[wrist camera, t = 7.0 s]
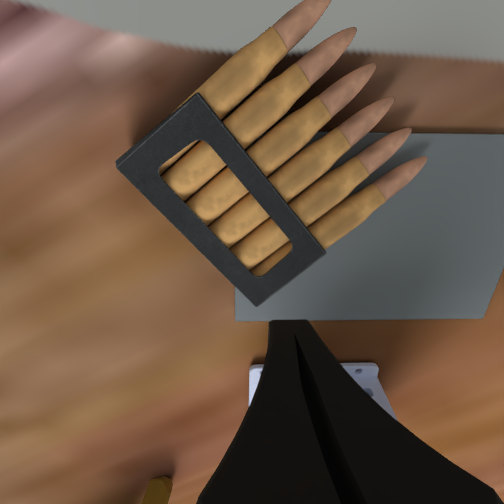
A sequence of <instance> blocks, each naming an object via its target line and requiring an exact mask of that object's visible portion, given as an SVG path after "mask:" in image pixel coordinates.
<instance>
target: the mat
mask: <svg viewBox="0 0 504 504" xmlns="http://www.w3.org/2000/svg"><path fill="white" fill-rule="evenodd" d="M268 132H269V131H265V132H264V133H263V134H262V135H261V136H260V137H258V138H257V139H256V140H255V141H254V142H253V143H251V144H250V145H249V146H248V147H247V148H246V149H249V148H250V147H251V146H252V145H253V144H255V143H256V142H257V141H258V140H259V139H260V138H262V137H263V136H264V135H265V134H266V133H268ZM327 133H329V132H317V133H316V134H315V135H314V136H313V137H312V139H311V140H310V141H309V142H308V143H307V144H306V145H305V146H304V147H302V148H301V149H300V150H299V151H298V152H296V153H295V154H294V155H293V156H292V157H294V156H295V155H296V154H297V153H299V152H300V151H301V150H302V149H304V148H305V147H306V146H308V145H309V144H311V143H313V142H315V141H316V140H318V139H320V138H322V137H323V136H325V135H326V134H327ZM389 134H391V133H373V132H368V133H367V134H366V135H365V136H364V137H363V138H362V139H360V140H359V141H358V142H357V143H355V144H354V145H353V146H352V147H351V148H350V149H349V150H348V151H347V152H346V153H344V154H343V155H342V156H341V157H340V158H339V159H338V160H337V161H336V162H335V163H334V164H333V165H332V166H331V167H330V169H329V170H328V171H327V172H325V173H324V174H323V175H322V176H324V175H325V174H326V173H328V172H330V171H332V170H333V169H335V168H337V167H339V166H341V165H343V164H344V163H345V162H347V161H348V160H350V159H351V158H352V157H355V156H356V155H358V154H359V153H360V152H362V151H363V150H364V149H366V148H367V147H368V146H370V145H371V144H373V143H375V142H376V141H378V140H379V139H381V138H383V137H385V136H387V135H389ZM422 156H427V158H428V159H427V161H426V163H425V165H424V166H423V168H422V169H421V170H420V171H419V172H418V173H417V175H416V176H415V177H414V178H413V179H412V180H411V181H410V182H409V183H408V184H407V185H405V186H404V187H403V188H402V189H401V190H400V191H398V192H397V193H396V194H395V195H393V196H392V197H391V198H389V199H388V200H386V202H385V203H384V204H382V205H381V206H380V207H378V208H377V209H376V210H375V211H373V212H372V213H371V215H370V216H369V217H368V218H367V219H366V220H365V221H364V222H362V223H361V224H360V225H359V226H357V227H356V228H354V229H353V230H352V231H350V232H349V233H347V234H346V235H345V236H343V237H342V238H341V239H339V240H338V241H336V242H335V243H334V244H332V245H331V246H329V247H328V248H327V249H325V251H326V254H325V255H324V256H323V257H322V258H320V259H319V260H318V261H316V262H315V263H314V264H313V265H311V266H310V267H309V268H307V269H306V270H305V271H303V272H302V273H301V274H300V275H298V276H297V277H296V278H294V279H293V280H292V281H291V282H289V283H288V284H287V285H285V286H284V287H283V288H282V289H280V290H279V291H278V292H276V293H275V294H274V295H272V296H271V297H270V298H269V299H267V300H266V301H265V302H263V303H262V304H261V305H260V306H258V307H255V306H254V305H253V304H252V303H251V302H250V301H249V300H248V299H247V298H246V297H245V296H244V295H243V294H242V293H241V292H240V291H239V290H238V289H237V288H236V287H235V321H271V320H297V319H307V320H397V319H483V317H484V314H485V312H486V310H487V307H488V305H489V302H490V300H491V297H492V295H493V293H494V290H495V288H496V285H497V283H498V281H499V278H500V276H501V273H502V271H503V269H504V134H462V133H410V135H409V136H408V138H407V139H406V141H405V142H404V143H403V144H402V146H401V147H400V148H399V149H398V150H397V151H396V152H395V153H394V154H393V155H392V156H391V157H390V158H389V159H388V160H387V161H386V162H385V163H384V164H383V165H381V166H380V167H379V168H378V169H376V170H375V171H374V172H372V173H371V174H370V175H369V176H368V177H367V178H366V179H365V180H363V181H362V182H361V183H360V184H358V185H357V186H356V187H355V188H354V189H353V190H352V192H351V193H350V194H349V195H348V196H347V197H349V196H351V195H353V194H355V193H357V192H359V191H360V190H362V189H363V188H365V187H366V186H368V185H369V184H371V183H373V182H375V181H376V180H377V179H379V178H380V177H381V176H383V175H384V174H386V173H387V172H389V171H391V170H392V169H394V168H396V167H398V166H400V165H401V164H403V163H406V162H408V161H410V160H412V159H415V158H418V157H422ZM292 157H290V158H289V159H288V160H287V161H285V162H284V163H283V164H282V165H281V166H283V165H284V164H285V163H286V162H288V161H289V160H290V159H291V158H292ZM281 166H279V167H278V168H277V169H276V170H278V169H279V168H280V167H281ZM276 170H275V171H276ZM275 171H273V172H272V173H271V174H273V173H274V172H275ZM271 174H270V175H271ZM270 175H268V176H270ZM322 176H320V177H319V178H318V179H320V178H321V177H322ZM318 179H317V180H318ZM317 180H315V181H314V182H316V181H317ZM314 182H313V183H314ZM313 183H312V184H313ZM312 184H310V185H309V186H311V185H312ZM309 186H308V187H309ZM308 187H307V188H308ZM307 188H305V189H307ZM305 189H304V190H305ZM304 190H303V191H304ZM303 191H301V192H303ZM301 192H300V193H301ZM248 193H249V192H248ZM248 193H247V194H248ZM300 193H299V194H300ZM247 194H245V195H247ZM299 194H298V195H299ZM245 195H244V196H245ZM298 195H296V196H298ZM244 196H243V197H244ZM296 196H295V197H296ZM243 197H242V198H243ZM295 197H294V198H295ZM347 197H346V198H347ZM242 198H241V199H242ZM294 198H293V199H294ZM239 200H240V199H239ZM239 200H238V201H239ZM291 200H292V199H291ZM291 200H290V201H291ZM343 200H344V199H343ZM238 201H237V202H238ZM290 201H289V202H290ZM237 202H236V203H237ZM268 218H269V217H268ZM268 218H267V219H268ZM263 222H264V221H263ZM263 222H262V223H263ZM258 226H259V225H258ZM254 229H255V228H254ZM249 233H250V232H249Z"/></svg>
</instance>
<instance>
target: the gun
mask: <svg viewBox="0 0 504 504" xmlns="http://www.w3.org/2000/svg"><path fill="white" fill-rule="evenodd" d="M172 486H173V484H172V480H171V479H170V478H167V477H164V476H163V477H159V478H155V479H152V480H150V482H149V485H148V488H147V491H146V493H145V496H144V499H143V502H142V504H168V500H169V497H170V494H171V490H172Z"/></svg>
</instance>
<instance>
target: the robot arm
mask: <svg viewBox="0 0 504 504" xmlns="http://www.w3.org/2000/svg"><path fill="white" fill-rule="evenodd" d="M357 369H358V370H357ZM378 371H379V368H378V366H377V365H376V364H375V363H339V361H338V360H337V359H336V358H335V357H334V355H333V354H332V353H331V352H330V350H329V349H328V348H327V346H326V345H325V344H324V342H323V341H322V340H321V338H320V337H319V336H318V334H317V333H316V331H315V330H314V328H313V327H312V325H311V324H310V322H309V321H308V320H307V319H297V320H271V321H270V322H269V332H268V349H267V354H266V358H265V363H264V364H256V365H252V366H251V367H250V369H249V408H248V410H247V412H246V415H245V417H244V419H243V421H242V423H241V425H240V427H239V429H238V432H237V433H236V435H235V437H234V439H233V441H232V443H231V445H230V446H229V448H228V450H227V452H226V454H225V455H224V457H223V459H222V461H221V462H220V464H219V466H218V467H217V469H216V471H215V472H214V474H213V475H212V477H211V478H210V480H209V481H208V483H207V484H206V486H205V488H204V489H203V491H202V492H201V494H200V495H199V497H198V501H197V503H196V504H504V503H503V502H502V500H501V499H500V498H499V496H498V495H497V493H496V492H495V490H494V489H493V488H491V487H490V486H488V485H486V484H485V483H483V482H482V481H480V480H479V479H477V478H476V477H474V476H472V475H471V474H469V473H468V472H466V471H465V470H463V469H462V468H460V467H459V466H457V465H455V464H454V463H452V462H451V461H449V460H448V459H447V458H445V457H444V456H442V455H441V454H440V453H438V452H437V451H435V450H434V449H433V448H431V447H430V446H429V445H427V444H426V443H424V442H423V441H422V440H421V439H419V438H418V437H417V436H415V435H414V434H413V433H412V432H410V431H409V430H408V429H407V428H406V427H404V426H403V425H402V424H401V423H399V422H398V420H397V418H396V416H395V414H394V412H393V410H392V407H391V405H390V403H389V401H388V399H387V397H386V395H385V392H384V390H383V388H382V386H381V384H380V382H379V380H378V378H377V375H378Z"/></svg>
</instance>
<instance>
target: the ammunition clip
mask: <svg viewBox="0 0 504 504" xmlns="http://www.w3.org/2000/svg"><path fill="white" fill-rule="evenodd" d="M330 2H331V0H304V1H302V2H301V3H299V4H298V5H297V6H295V7H294V8H293V9H291V10H290V11H289V12H287V13H286V14H285V15H284V16H283V17H282V18H281V19H279V20H278V21H277V22H276V23H275V24H274V25H273V26H272V27H269V28H268V29H267V30H266V31H265V32H264V33H263V34H261V35H260V36H259V37H258V38H257V39H255V40H254V41H252V42H250V43H249V44H247V45H246V46H244V47H243V48H241V49H240V50H239V51H237V52H236V53H235V54H234V55H233V56H232V57H231V58H230V59H229V60H228V61H227V62H226V63H225V64H224V65H222V66H221V67H220V68H219V69H218V70H217V71H216V72H215V73H214V74H213V75H212V76H211V77H210V78H209V79H208V80H207V81H205V82H204V83H203V84H202V85H201V86H200V87H199V88H198V89H197V90H196V91H195V92H194V93H193V94H192V95H191V96H189V97H188V98H187V99H186V100H185V101H184V102H183V103H182V104H181V105H180V106H179V107H178V108H177V109H176V110H175V111H174V112H172V113H171V114H170V115H169V116H168V117H167V118H166V119H165V120H163V121H162V122H161V123H160V124H159V125H157V126H156V127H155V128H154V129H153V130H152V131H150V132H149V133H148V134H147V135H146V136H145V137H143V138H142V139H141V140H140V141H139V142H137V143H136V144H135V145H134V146H133V147H132V148H130V149H129V150H128V151H127V152H126V153H125V154H123V155H122V156H121V157H120V158H119V159H117V160H116V161H115V163H116V168H117V169H118V170H119V171H120V172H121V173H122V174H123V175H124V176H125V177H126V178H127V179H128V180H129V181H130V182H131V183H132V184H133V185H134V186H135V187H136V188H137V189H138V190H139V191H140V192H141V193H142V194H143V195H144V196H145V197H146V198H147V199H148V200H149V201H150V202H151V203H152V204H153V205H154V206H155V207H156V208H157V209H158V210H159V211H160V212H161V213H162V214H163V215H164V216H165V217H166V218H167V219H168V220H169V221H170V222H171V223H172V224H173V225H174V226H175V227H176V228H177V229H178V230H179V231H180V232H181V233H182V234H183V235H184V236H185V237H186V238H187V239H188V240H189V241H190V242H191V243H192V244H193V245H194V246H195V247H196V248H197V249H198V250H199V251H200V252H201V253H202V254H203V255H204V256H205V257H206V258H207V259H208V260H209V261H210V262H211V263H212V264H213V265H214V266H215V267H216V268H217V269H218V270H219V271H220V272H221V273H222V274H223V275H224V276H225V277H226V278H227V279H228V280H229V281H230V282H231V283H232V284H233V285H234V286H235V287H236V288H237V289H238V290H239V291H240V292H241V293H242V294H243V295H244V296H245V297H246V298H247V299H248V300H249V301H250V302H251V303H252V304H253V305H254V306H255V307H258V306H260V305H261V304H262V303H263V302H265V301H266V300H267V299H269V298H270V297H271V296H272V295H274V294H275V293H276V292H278V291H279V290H280V289H282V288H283V287H284V286H285V285H287V284H288V283H289V282H291V281H292V280H293V279H294V278H296V277H297V276H298V275H300V274H301V273H302V272H303V271H305V270H306V269H307V268H309V267H310V266H311V265H313V264H314V263H315V262H316V261H318V260H319V259H320V258H322V257H323V256H324V255H325V254H326V251H325V249H327V248H328V247H329V246H331V245H332V244H334V243H335V242H336V241H338V240H339V239H341V238H342V237H343V236H345V235H346V234H347V233H349V232H350V231H352V230H353V229H354V228H356V227H357V226H359V225H360V224H361V223H362V222H364V221H365V220H366V219H367V218H368V217H369V216H370V215H371V213H372V212H373V211H375V210H376V209H377V208H378V207H380V206H381V205H382V204H384V203H385V202H386V200H388V199H389V198H391V197H392V196H393V195H395V194H396V193H397V192H398V191H400V190H401V189H402V188H403V187H404V186H405V185H407V184H408V183H409V182H410V181H411V180H412V179H413V178H414V177H415V176H416V175H417V173H418V172H419V171H420V170H421V169H422V168H423V166H424V165H425V163H426V161H427V159H428V158H427V156H422V157H418V158H415V159H412V160H410V161H408V162H406V163H403V164H401V165H400V166H398V167H396V168H394V169H392V170H391V171H389V172H387V173H386V174H384V175H383V176H381V177H380V178H379V179H377V180H376V181H375V182H373V183H371V184H369V185H368V186H366V187H365V188H363V189H362V190H360V191H359V192H357V193H355V194H353V195H351V196H349V197H347V196H348V195H349V194H350V193H351V192H352V190H353V189H354V188H355V187H356V186H357V185H358V184H360V183H361V182H362V181H363V180H365V179H366V178H367V177H368V176H369V175H370V174H371V173H372V172H374V171H375V170H376V169H378V168H379V167H380V166H381V165H383V164H384V163H385V162H386V161H387V160H388V159H389V158H390V157H391V156H392V155H393V154H394V153H395V152H396V151H397V150H398V149H399V148H400V147H401V146H402V144H403V143H404V142H405V141H406V139H407V138H408V136H409V135H410V133H411V131H412V129H411V128H410V127H408V128H404V129H400V130H398V131H395V132H393V133H391V134H389V135H387V136H385V137H383V138H381V139H379V140H378V141H376V142H375V143H373V144H371V145H370V146H368V147H367V148H366V149H364V150H363V151H362V152H360V153H359V154H358V155H356V156H355V157H352V158H351V159H350V160H348V161H347V162H345V163H344V164H343V165H341V166H339V167H337V168H335V169H333V170H332V171H330V172H328V173H326V174H325V175H324V176H322V175H323V174H324V173H325V172H327V171H328V170H329V169H330V167H331V166H332V165H333V164H334V163H335V162H336V161H337V160H338V159H339V158H340V157H341V156H342V155H343V154H344V153H346V152H347V151H348V150H349V149H350V148H351V147H352V146H353V145H354V144H355V143H357V142H358V141H359V140H360V139H362V138H363V137H364V136H365V135H366V134H367V133H368V132H369V131H370V130H371V129H372V128H373V127H375V125H376V124H377V123H378V122H379V121H380V120H381V119H382V118H383V116H384V115H385V114H386V113H387V111H388V110H389V109H390V107H391V105H392V104H393V102H394V100H395V98H394V96H389V97H386V98H383V99H381V100H378V101H376V102H374V103H372V104H370V105H368V106H366V107H365V108H363V109H361V110H360V111H358V112H357V113H355V114H354V115H352V116H351V117H349V118H348V119H347V120H345V121H344V122H343V123H342V124H340V125H339V126H338V127H336V128H334V129H333V130H331V131H330V132H329V133H327V134H326V135H325V136H323V137H322V138H320V139H318V140H316V141H315V142H313V143H311V144H309V145H308V146H306V147H305V148H304V149H302V150H301V151H300V152H299V153H297V154H296V155H295V156H294V157H292V156H293V155H294V154H295V153H296V152H298V151H299V150H300V149H301V148H302V147H304V146H305V145H306V144H307V143H308V142H309V141H310V140H311V139H312V137H313V136H314V135H315V134H316V133H317V132H318V130H319V129H320V128H322V127H323V126H324V125H325V124H326V123H327V122H328V121H329V120H331V118H332V117H333V116H334V115H335V114H337V113H338V112H339V111H340V110H341V109H343V108H344V107H345V106H346V105H347V104H348V103H349V102H350V101H351V100H352V99H353V98H354V97H355V96H356V95H357V94H358V93H359V92H360V90H361V89H362V88H363V87H364V86H365V84H366V83H367V82H368V80H369V79H370V78H371V76H372V74H373V73H374V71H375V69H376V64H375V63H371V64H367V65H365V66H362V67H360V68H358V69H356V70H354V71H352V72H350V73H349V74H347V75H345V76H344V77H342V78H341V79H339V80H338V81H336V82H335V83H333V84H332V85H331V86H329V87H328V88H327V89H326V90H324V91H323V92H322V93H321V94H320V95H318V96H317V97H315V98H314V99H312V100H311V101H310V102H308V103H307V104H306V105H305V106H303V107H302V108H300V109H298V110H297V111H295V112H293V113H291V114H290V115H288V116H287V117H285V118H284V119H283V120H282V121H281V122H279V123H278V124H277V125H276V126H275V127H273V128H272V129H271V130H270V131H269V132H268V133H266V134H265V135H264V136H263V137H262V138H260V139H259V140H258V141H257V142H256V143H255V144H253V145H252V146H251V147H250V148H249V149H246V148H247V147H248V146H249V145H250V144H251V143H253V142H254V141H255V140H256V139H257V138H258V137H260V136H261V135H262V134H263V133H264V132H265V131H266V130H268V129H269V128H270V127H271V126H272V125H273V124H275V123H276V122H277V121H278V120H279V119H280V118H282V117H283V116H284V115H285V114H286V113H287V112H288V110H289V109H290V108H291V107H292V106H293V104H294V103H295V102H296V101H297V99H298V98H300V97H301V96H302V95H303V94H304V93H305V92H306V91H307V90H308V89H309V88H310V87H311V85H313V84H314V83H315V82H316V81H317V80H318V79H319V78H320V77H322V76H323V75H324V74H325V73H326V72H327V71H328V70H329V69H330V67H331V66H332V65H333V64H334V63H335V62H336V61H337V60H338V59H339V57H340V56H341V55H342V54H343V52H344V51H345V50H346V48H347V47H348V46H349V44H350V43H351V41H352V40H353V38H354V36H355V34H356V31H357V29H356V28H355V27H351V28H348V29H345V30H342V31H340V32H338V33H336V34H334V35H333V36H331V37H329V38H327V39H326V40H324V41H323V42H321V43H320V44H318V45H317V46H316V47H314V48H313V49H311V50H310V51H309V52H308V53H306V54H305V55H304V56H303V57H302V58H301V59H300V60H298V61H297V62H296V63H294V64H293V65H291V66H290V67H289V68H288V69H286V70H285V71H284V72H283V73H282V74H280V75H279V76H277V77H275V78H274V79H272V80H270V81H269V82H267V83H265V84H264V85H263V86H262V87H261V88H259V89H258V90H257V91H256V92H255V93H254V94H253V95H252V96H250V97H249V98H248V99H247V100H246V101H245V102H244V103H243V104H241V105H240V106H239V107H238V108H237V109H236V110H235V111H234V112H232V113H231V114H230V115H229V116H228V117H227V118H226V119H225V120H223V118H224V117H225V116H226V115H227V114H228V113H229V112H230V111H231V110H232V109H234V108H235V107H236V106H237V105H238V104H239V103H240V102H241V101H242V100H243V99H245V98H246V97H247V96H248V95H249V94H250V93H251V92H252V91H253V90H254V89H255V88H257V87H258V86H259V85H260V84H261V83H262V82H263V81H264V80H265V78H266V77H267V76H268V74H269V73H270V72H271V70H272V69H273V68H274V66H275V65H276V64H277V63H278V62H279V61H280V60H282V59H283V58H284V57H285V56H286V55H287V54H288V52H289V51H290V50H291V49H292V48H293V47H294V46H295V45H296V44H297V43H298V42H299V41H300V40H301V39H302V38H303V37H304V36H305V35H306V34H307V33H308V32H309V30H310V29H311V28H312V27H313V26H314V25H315V24H316V22H317V21H318V20H319V18H320V17H321V16H322V14H323V13H324V11H325V10H326V8H327V7H328V5H329V4H330ZM199 140H201V141H200V142H199V143H198V144H196V145H195V146H194V147H193V148H192V149H191V150H190V151H189V152H187V153H186V154H185V155H184V156H183V157H182V158H181V159H180V160H178V159H179V158H180V157H181V156H182V155H183V154H184V153H185V152H186V151H188V150H189V149H190V148H191V147H192V146H193V145H194V144H195V143H196V142H197V141H199ZM290 157H292V158H291V159H290V160H289V161H288V162H286V163H285V164H284V165H283V166H281V165H282V164H283V163H284V162H285V161H287V160H288V159H289V158H290ZM177 160H178V161H177ZM176 161H177V162H176ZM174 162H176V163H175V164H174V165H173V166H172V167H171V168H169V167H170V166H171V165H172V164H173V163H174ZM226 165H227V167H226V168H225V169H224V170H223V171H221V172H220V173H219V174H218V175H217V176H215V175H216V174H217V173H218V172H219V171H220V170H221V169H223V168H224V167H225V166H226ZM279 166H281V167H280V168H279V169H278V170H276V169H277V168H278V167H279ZM168 168H169V169H168ZM167 169H168V170H167ZM275 170H276V171H275ZM273 171H275V172H274V173H273V174H271V173H272V172H273ZM270 174H271V175H270ZM268 175H270V176H268ZM213 176H215V177H214V178H213V179H212V180H211V181H210V182H208V181H209V180H210V179H211V178H212V177H213ZM320 176H322V177H321V178H320V179H318V178H319V177H320ZM317 179H318V180H317ZM315 180H317V181H316V182H314V181H315ZM206 182H208V183H207V184H206V185H205V186H204V187H202V186H203V185H204V184H205V183H206ZM313 182H314V183H313ZM312 183H313V184H312ZM310 184H312V185H311V186H309V185H310ZM308 186H309V187H308ZM201 187H202V188H201ZM307 187H308V188H307ZM200 188H201V189H200ZM305 188H307V189H305ZM198 189H200V190H199V191H198V192H197V193H195V192H196V191H197V190H198ZM304 189H305V190H304ZM303 190H304V191H303ZM301 191H303V192H301ZM248 192H249V193H248ZM300 192H301V193H300ZM194 193H195V194H194ZM247 193H248V194H247ZM299 193H300V194H299ZM193 194H194V195H193ZM245 194H247V195H245ZM298 194H299V195H298ZM191 195H193V196H191ZM244 195H245V196H244ZM296 195H298V196H296ZM243 196H244V197H243ZM295 196H296V197H295ZM242 197H243V198H242ZM294 197H295V198H294ZM346 197H347V198H346ZM241 198H242V199H241ZM293 198H294V199H293ZM239 199H240V200H239ZM291 199H292V200H291ZM343 199H344V200H343ZM238 200H239V201H238ZM290 200H291V201H290ZM237 201H238V202H237ZM289 201H290V202H289ZM236 202H237V203H236ZM233 204H234V205H233ZM232 205H233V206H232ZM231 206H232V207H231ZM227 209H228V210H227ZM226 210H227V211H226ZM222 213H223V214H222ZM221 214H222V215H221ZM268 217H269V218H268ZM216 218H217V219H216ZM267 218H268V219H267ZM215 219H216V220H215ZM263 221H264V222H263ZM262 222H263V223H262ZM258 225H259V226H258ZM254 228H255V229H254ZM249 232H250V233H249Z"/></svg>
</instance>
